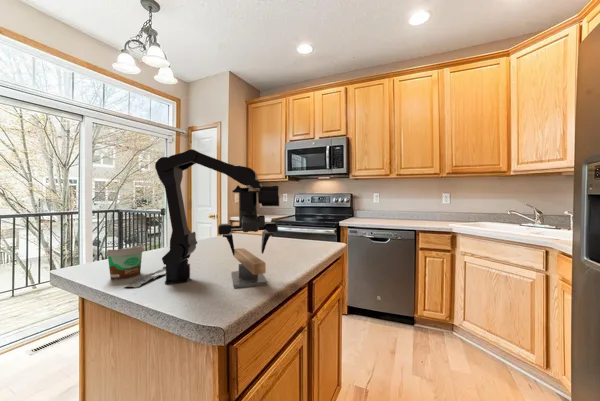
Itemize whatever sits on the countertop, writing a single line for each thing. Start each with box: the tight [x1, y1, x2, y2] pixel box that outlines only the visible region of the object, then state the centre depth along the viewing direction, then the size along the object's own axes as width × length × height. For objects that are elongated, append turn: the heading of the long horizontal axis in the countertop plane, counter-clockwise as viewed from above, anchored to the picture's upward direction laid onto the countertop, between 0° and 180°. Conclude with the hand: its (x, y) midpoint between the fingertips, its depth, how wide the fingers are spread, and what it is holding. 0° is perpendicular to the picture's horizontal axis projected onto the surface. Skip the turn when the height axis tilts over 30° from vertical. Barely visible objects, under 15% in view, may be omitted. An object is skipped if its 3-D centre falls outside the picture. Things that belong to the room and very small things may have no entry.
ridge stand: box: [230, 263, 268, 289], centre depth 85 cm, size 10×14×5 cm
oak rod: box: [233, 247, 267, 275], centre depth 85 cm, size 4×24×3 cm, turn 27°
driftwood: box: [124, 266, 166, 288], centre depth 87 cm, size 21×7×2 cm, turn 170°
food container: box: [105, 243, 145, 280], centre depth 89 cm, size 12×6×10 cm, turn 164°
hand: (248, 254), depth 85 cm, fingers open, 9 cm apart
